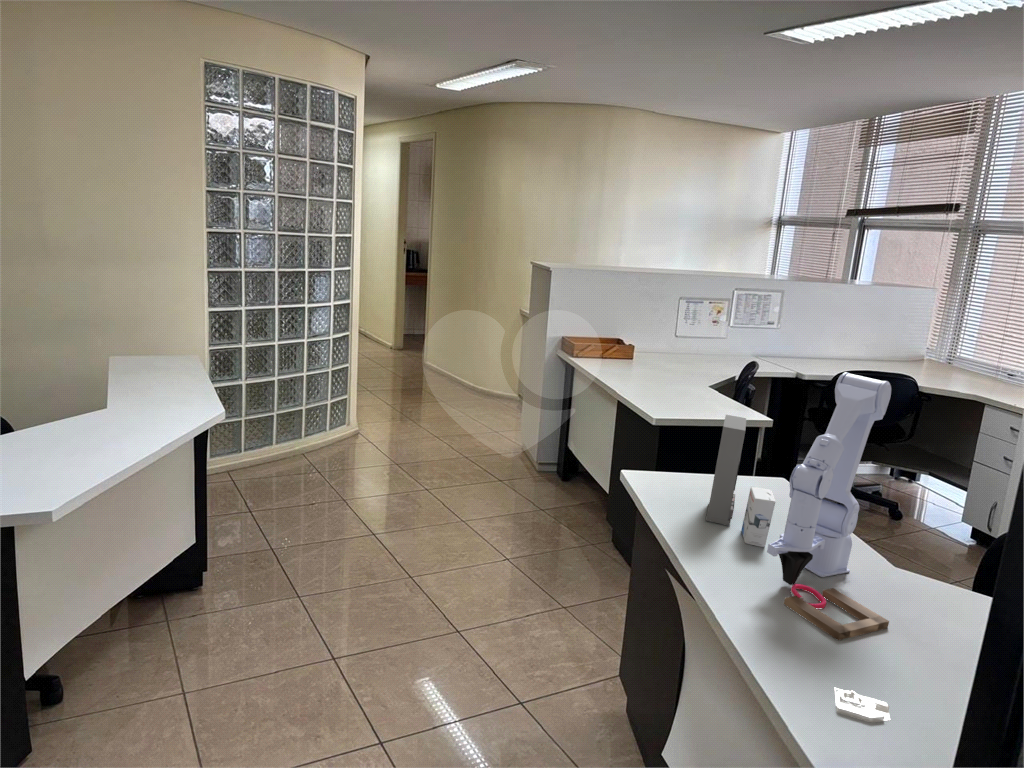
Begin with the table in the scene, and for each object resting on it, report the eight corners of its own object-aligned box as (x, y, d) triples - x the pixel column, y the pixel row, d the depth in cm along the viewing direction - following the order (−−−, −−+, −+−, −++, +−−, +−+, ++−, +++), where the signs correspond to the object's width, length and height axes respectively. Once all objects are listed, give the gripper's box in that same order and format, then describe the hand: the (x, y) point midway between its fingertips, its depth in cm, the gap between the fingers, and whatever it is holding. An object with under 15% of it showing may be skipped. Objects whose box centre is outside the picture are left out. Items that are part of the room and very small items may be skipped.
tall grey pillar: (730, 527, 180) (748, 431, 174) (705, 521, 182) (722, 426, 176) (732, 508, 193) (749, 418, 187) (709, 503, 195) (725, 414, 189)
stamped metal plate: (835, 715, 112) (837, 707, 112) (833, 690, 118) (835, 682, 118) (891, 732, 109) (893, 723, 109) (886, 706, 116) (888, 697, 115)
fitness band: (785, 588, 151) (786, 581, 151) (811, 590, 152) (813, 583, 151) (802, 609, 143) (804, 602, 143) (830, 611, 144) (832, 604, 143)
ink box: (741, 529, 179) (749, 485, 176) (762, 533, 178) (770, 489, 175) (744, 544, 171) (753, 497, 168) (766, 548, 170) (776, 501, 167)
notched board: (831, 594, 150) (833, 588, 150) (887, 628, 139) (889, 621, 139) (783, 604, 144) (785, 597, 143) (838, 640, 133) (840, 633, 132)
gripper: (810, 511, 155) (798, 569, 158) (761, 517, 148) (749, 577, 151) (838, 525, 149) (824, 584, 152) (787, 532, 142) (774, 594, 145)
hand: (788, 582), depth 151 cm, fingers closed
